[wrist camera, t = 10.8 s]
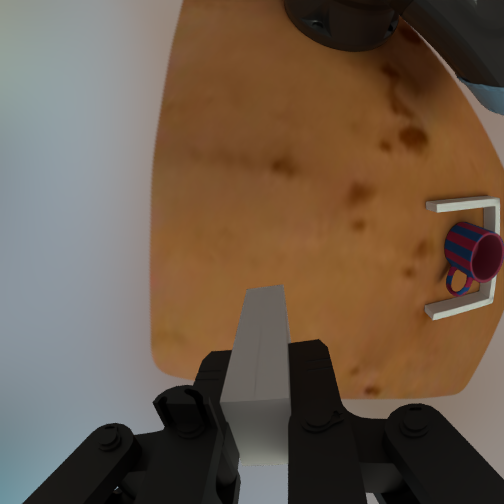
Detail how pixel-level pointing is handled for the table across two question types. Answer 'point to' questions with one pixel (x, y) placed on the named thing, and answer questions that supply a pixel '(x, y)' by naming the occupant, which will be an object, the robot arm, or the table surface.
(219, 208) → the table surface
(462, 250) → the mug
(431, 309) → the white u-shaped frame
